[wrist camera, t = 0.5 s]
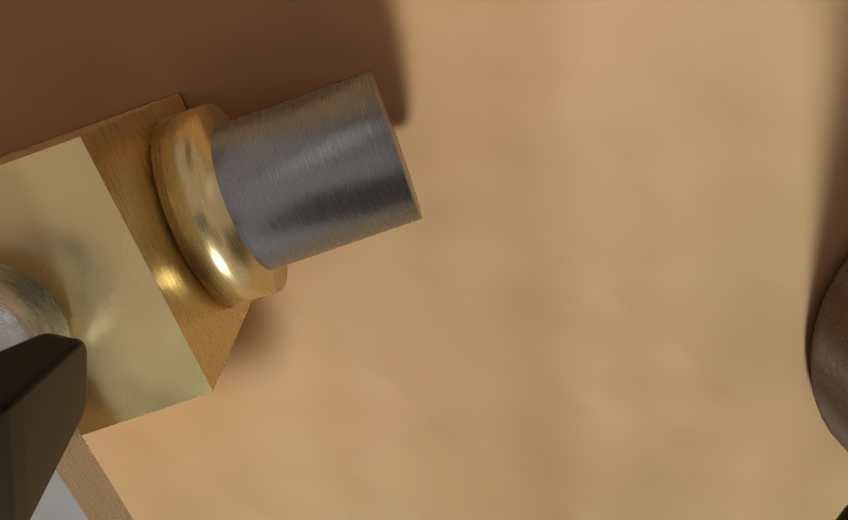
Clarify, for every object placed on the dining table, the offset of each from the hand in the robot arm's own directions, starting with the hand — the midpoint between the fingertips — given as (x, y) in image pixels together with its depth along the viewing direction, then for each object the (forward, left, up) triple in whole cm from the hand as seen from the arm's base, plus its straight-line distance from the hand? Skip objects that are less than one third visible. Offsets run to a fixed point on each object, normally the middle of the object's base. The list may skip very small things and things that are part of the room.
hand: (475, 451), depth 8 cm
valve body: (-9, +2, -14) cm, 17 cm away
